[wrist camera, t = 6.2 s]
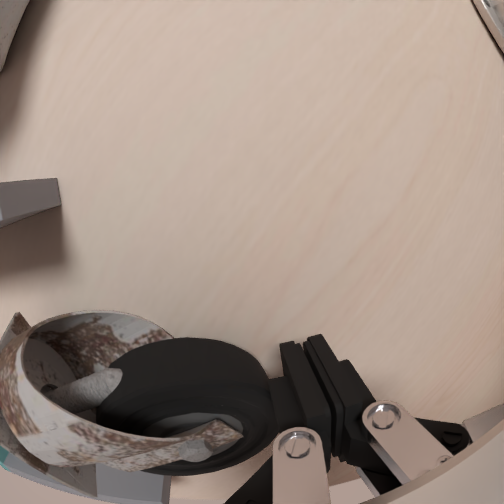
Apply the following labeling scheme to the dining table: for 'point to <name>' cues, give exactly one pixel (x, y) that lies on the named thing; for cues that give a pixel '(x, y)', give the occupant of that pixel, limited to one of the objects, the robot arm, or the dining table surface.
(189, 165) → the dining table surface
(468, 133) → the dining table surface
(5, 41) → the ceramic mug
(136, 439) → the caster wheel
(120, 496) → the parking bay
